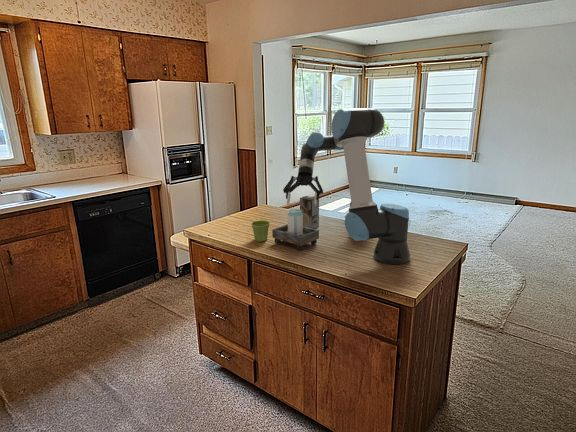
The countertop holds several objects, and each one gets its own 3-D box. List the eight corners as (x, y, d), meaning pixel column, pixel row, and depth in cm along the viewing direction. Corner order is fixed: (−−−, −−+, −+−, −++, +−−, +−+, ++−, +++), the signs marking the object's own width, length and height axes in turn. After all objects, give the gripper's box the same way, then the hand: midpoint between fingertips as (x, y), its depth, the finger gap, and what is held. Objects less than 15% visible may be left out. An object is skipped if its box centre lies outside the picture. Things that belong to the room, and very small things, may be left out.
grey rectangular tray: (318, 244, 179) (318, 230, 177) (301, 252, 170) (301, 237, 168) (290, 236, 191) (290, 223, 189) (272, 243, 181) (272, 229, 179)
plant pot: (267, 243, 181) (267, 226, 179) (249, 242, 183) (248, 225, 181) (272, 237, 190) (272, 220, 188) (254, 236, 192) (253, 220, 189)
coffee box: (319, 226, 205) (319, 198, 201) (312, 229, 201) (312, 200, 196) (306, 223, 211) (306, 195, 207) (299, 226, 207) (299, 197, 202)
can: (288, 232, 182) (287, 208, 179) (302, 232, 182) (302, 208, 179) (287, 237, 176) (287, 212, 172) (302, 237, 175) (302, 212, 172)
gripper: (330, 174, 196) (327, 209, 186) (283, 173, 201) (278, 207, 191) (329, 165, 190) (326, 201, 180) (281, 165, 195) (275, 199, 185)
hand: (301, 204), depth 186 cm, fingers open, 13 cm apart
